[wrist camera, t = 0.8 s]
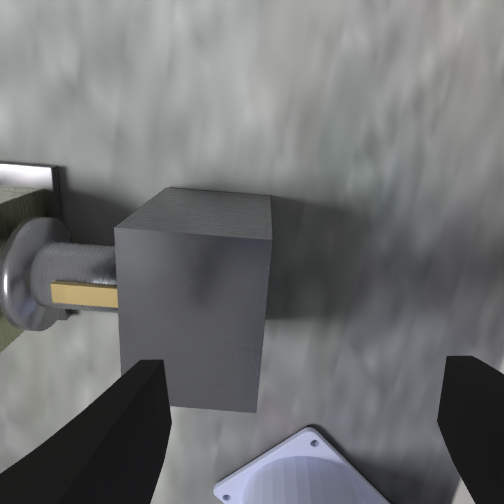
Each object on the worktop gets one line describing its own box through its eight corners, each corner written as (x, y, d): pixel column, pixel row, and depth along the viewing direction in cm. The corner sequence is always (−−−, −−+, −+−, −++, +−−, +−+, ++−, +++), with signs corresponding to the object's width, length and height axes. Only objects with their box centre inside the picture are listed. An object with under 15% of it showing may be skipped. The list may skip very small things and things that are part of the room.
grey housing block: (270, 195, 19) (272, 239, 12) (259, 320, 21) (256, 412, 15) (165, 187, 19) (114, 227, 12) (166, 313, 21) (122, 402, 15)
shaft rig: (183, 175, 19) (147, 203, 13) (181, 323, 21) (151, 398, 16) (-89, 154, 19) (-238, 173, 13) (-56, 304, 21) (-169, 372, 16)
